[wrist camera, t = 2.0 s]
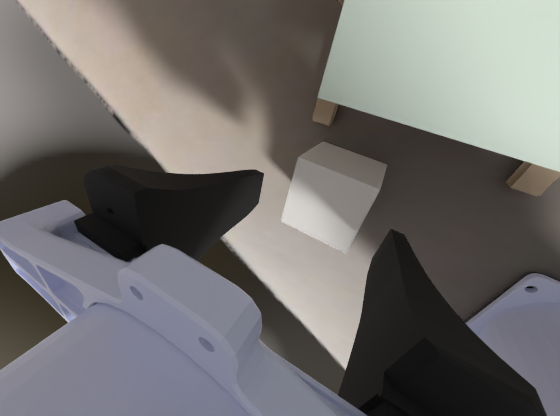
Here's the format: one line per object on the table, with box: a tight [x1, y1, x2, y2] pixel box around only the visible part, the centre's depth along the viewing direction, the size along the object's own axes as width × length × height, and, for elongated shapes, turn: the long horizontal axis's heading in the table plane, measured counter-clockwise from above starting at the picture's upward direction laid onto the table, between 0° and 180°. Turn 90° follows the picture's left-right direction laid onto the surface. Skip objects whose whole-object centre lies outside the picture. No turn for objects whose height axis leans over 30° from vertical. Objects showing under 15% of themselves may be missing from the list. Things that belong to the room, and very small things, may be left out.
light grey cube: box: [281, 141, 387, 253], centre depth 15 cm, size 4×4×4 cm
